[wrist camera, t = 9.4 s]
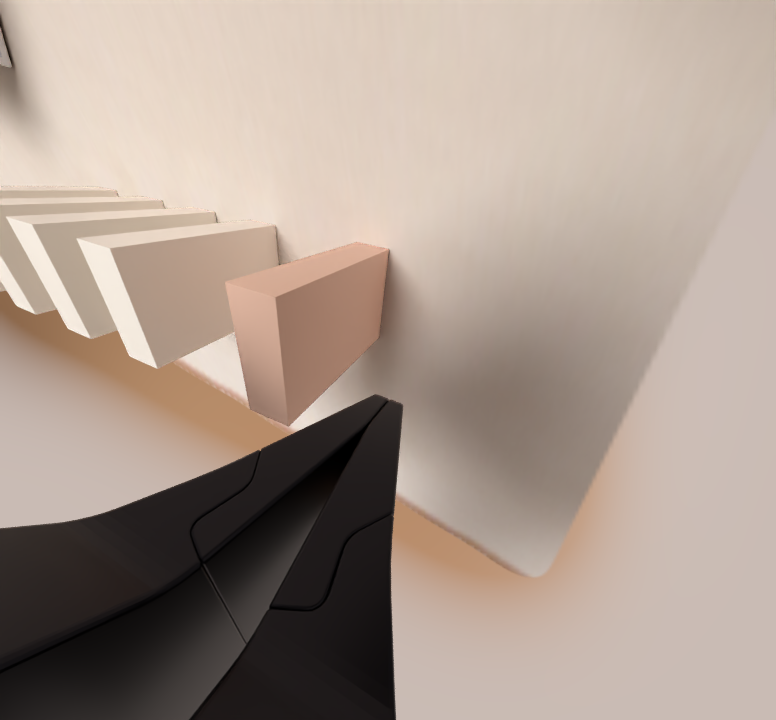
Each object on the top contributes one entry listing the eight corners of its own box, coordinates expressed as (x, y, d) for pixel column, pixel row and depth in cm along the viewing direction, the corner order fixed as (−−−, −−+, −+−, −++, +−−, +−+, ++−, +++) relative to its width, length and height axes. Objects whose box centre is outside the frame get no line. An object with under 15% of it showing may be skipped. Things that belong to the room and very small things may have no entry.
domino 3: (214, 212, 17) (31, 224, 11) (230, 291, 20) (91, 339, 14) (192, 207, 18) (5, 216, 11) (210, 285, 20) (68, 328, 14)
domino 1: (116, 190, 20) (-81, 190, 13) (141, 264, 22) (-11, 293, 16) (99, 186, 20) (-98, 185, 14) (126, 259, 23) (-28, 286, 17)
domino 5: (389, 249, 14) (275, 297, 8) (378, 337, 17) (288, 426, 11) (356, 242, 15) (224, 282, 8) (352, 329, 17) (250, 409, 11)
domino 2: (162, 200, 18) (-30, 205, 12) (183, 277, 21) (35, 314, 15) (142, 196, 19) (-52, 199, 13) (166, 271, 22) (16, 305, 15)
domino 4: (275, 225, 16) (109, 248, 10) (283, 308, 19) (157, 368, 12) (250, 219, 17) (76, 238, 10) (261, 301, 19) (129, 356, 13)
